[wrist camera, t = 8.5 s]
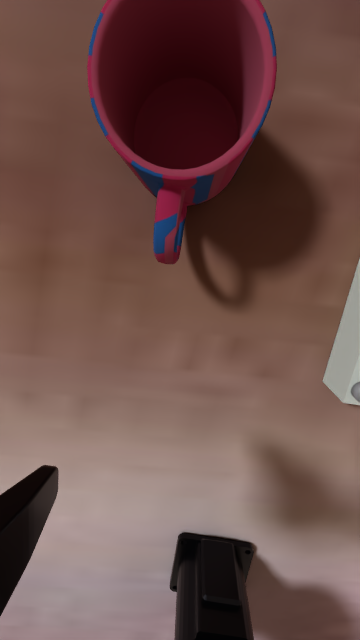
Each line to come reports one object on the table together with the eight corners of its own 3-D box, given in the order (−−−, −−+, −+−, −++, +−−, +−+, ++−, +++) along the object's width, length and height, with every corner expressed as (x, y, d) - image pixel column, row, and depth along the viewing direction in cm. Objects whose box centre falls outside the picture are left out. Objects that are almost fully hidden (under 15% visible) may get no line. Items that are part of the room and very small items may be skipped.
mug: (257, 94, 15) (305, -19, 9) (210, 269, 18) (220, 282, 11) (142, 64, 15) (103, -73, 9) (111, 244, 18) (64, 243, 11)
